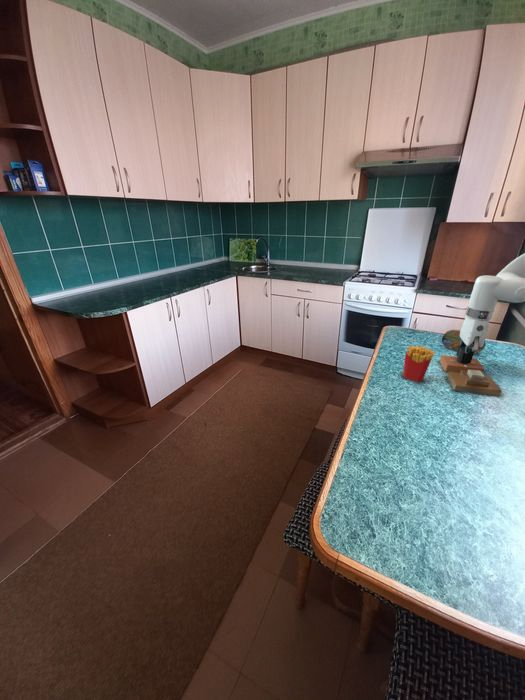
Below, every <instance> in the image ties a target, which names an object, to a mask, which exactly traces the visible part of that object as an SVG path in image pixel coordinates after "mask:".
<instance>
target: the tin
mask: <svg viewBox="0 0 525 700" xmlns="http://www.w3.org/2000/svg"><path fill="white" fill-rule="evenodd" d="M460 331H461V329H460V330H459V329H450V330H447V331H446V332H445V333H443V335H442V337H441V343H442V345H443V346H444V347H445V348H446V349H448V350H451V351H458V348H459V344H460V342H461V338H460ZM470 345H473V344H470ZM469 348H472V347H469ZM485 348H486V341H485V342H484V345H483V347H479V346H478V351H477V352H475V354H478V353H480V352H482V351H483V350H484V349H485Z"/></svg>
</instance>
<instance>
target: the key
mask: <svg viewBox="0 0 525 700" xmlns="http://www.w3.org/2000/svg"><path fill="white" fill-rule="evenodd" d="M483 374H484V373H483ZM483 374H482V372H481V371H478V370H468V372H467V375H468V376H469V377H470V379H478V380H483V379H484V375H485V374H484V375H483Z"/></svg>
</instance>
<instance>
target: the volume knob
mask: <svg viewBox="0 0 525 700" xmlns="http://www.w3.org/2000/svg"><path fill="white" fill-rule="evenodd" d="M465 348H466V347H460V350H459V353H458V356H456V357H457V359H456V361H457V362H459V363H461V362H460V360H461V357H462V354H463V352H465ZM468 349H471V348H468ZM461 364H468V363H461Z"/></svg>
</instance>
